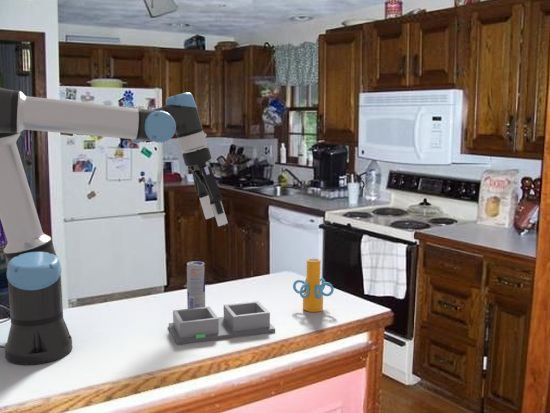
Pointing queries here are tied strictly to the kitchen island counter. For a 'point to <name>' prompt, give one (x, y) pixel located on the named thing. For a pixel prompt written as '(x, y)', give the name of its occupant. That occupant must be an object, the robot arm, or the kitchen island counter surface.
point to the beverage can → (195, 284)
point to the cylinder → (313, 287)
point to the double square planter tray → (220, 323)
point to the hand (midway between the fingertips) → (216, 221)
